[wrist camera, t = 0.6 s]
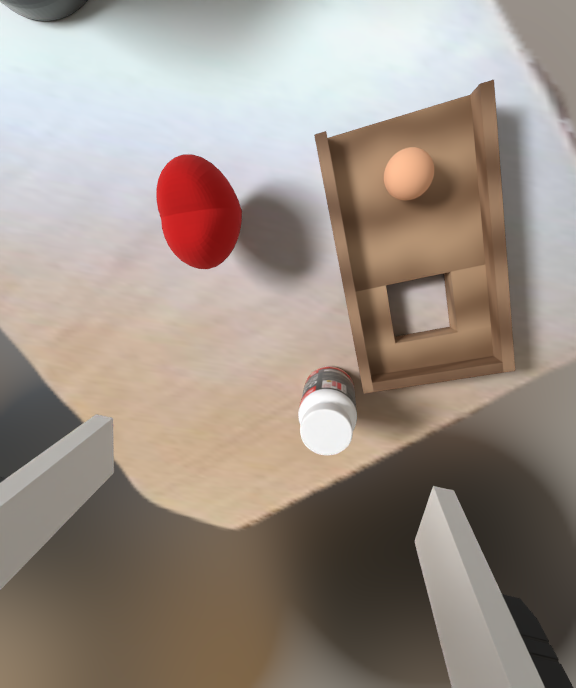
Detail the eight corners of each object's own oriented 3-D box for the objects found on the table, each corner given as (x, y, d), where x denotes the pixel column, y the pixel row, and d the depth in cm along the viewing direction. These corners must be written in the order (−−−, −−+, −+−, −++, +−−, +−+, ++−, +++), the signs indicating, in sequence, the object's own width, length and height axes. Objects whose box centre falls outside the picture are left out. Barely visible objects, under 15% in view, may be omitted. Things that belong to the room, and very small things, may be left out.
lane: (317, 148, 33) (314, 134, 29) (472, 102, 30) (493, 79, 26) (360, 377, 39) (363, 393, 35) (494, 355, 36) (515, 370, 32)
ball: (377, 161, 31) (383, 149, 27) (424, 148, 30) (437, 134, 26) (384, 208, 31) (391, 202, 28) (430, 196, 31) (443, 189, 27)
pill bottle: (309, 360, 39) (299, 397, 30) (358, 369, 39) (364, 409, 29) (301, 405, 41) (290, 453, 32) (349, 414, 40) (352, 466, 31)
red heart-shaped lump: (262, 260, 37) (235, 266, 27) (201, 268, 38) (155, 276, 29) (248, 166, 34) (213, 136, 25) (183, 178, 36) (127, 153, 26)
